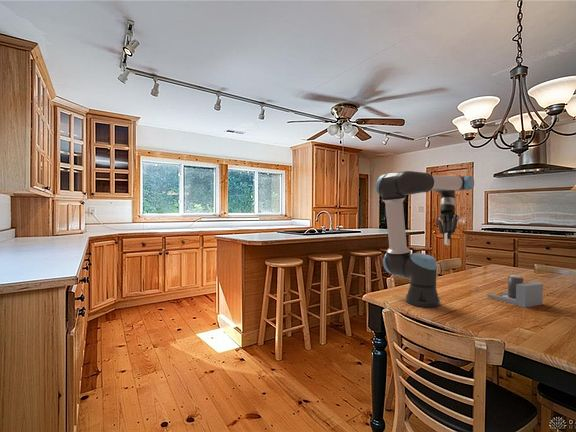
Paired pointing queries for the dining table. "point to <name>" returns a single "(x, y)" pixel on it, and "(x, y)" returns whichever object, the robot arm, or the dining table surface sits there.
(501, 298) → the mount
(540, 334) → the dining table surface
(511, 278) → the knob
